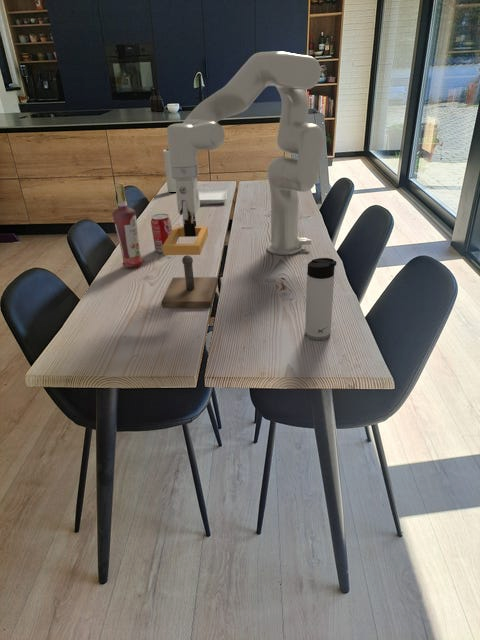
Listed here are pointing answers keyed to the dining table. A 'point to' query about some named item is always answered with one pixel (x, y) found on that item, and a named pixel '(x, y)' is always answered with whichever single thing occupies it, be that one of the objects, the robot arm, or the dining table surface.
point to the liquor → (127, 230)
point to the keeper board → (190, 296)
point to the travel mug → (319, 298)
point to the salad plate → (212, 195)
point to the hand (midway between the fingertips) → (190, 234)
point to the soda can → (160, 230)
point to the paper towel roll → (169, 172)
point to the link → (185, 249)
